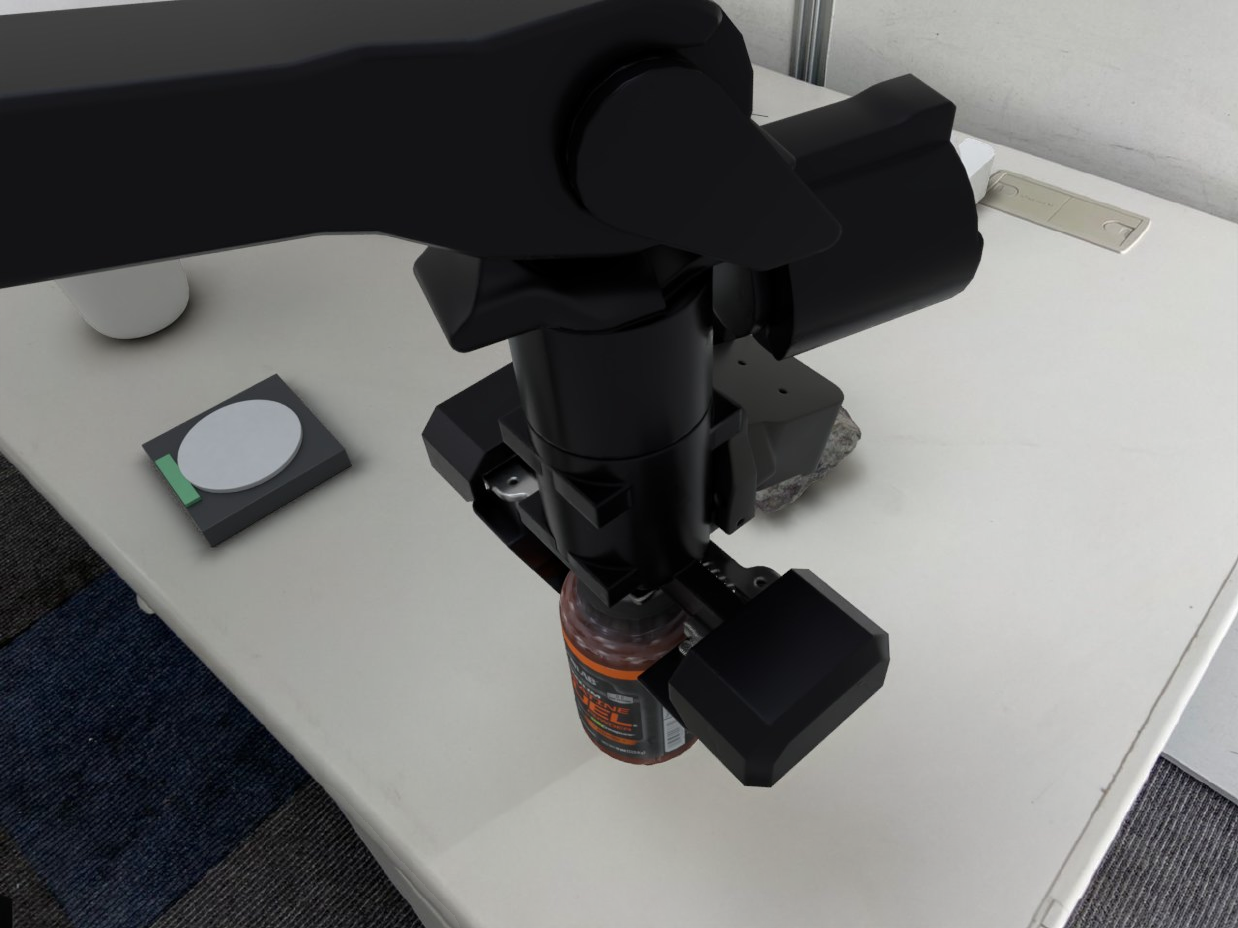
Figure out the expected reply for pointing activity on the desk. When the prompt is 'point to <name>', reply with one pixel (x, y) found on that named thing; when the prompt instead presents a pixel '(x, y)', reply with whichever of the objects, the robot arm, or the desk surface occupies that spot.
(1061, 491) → the desk surface
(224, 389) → the desk surface
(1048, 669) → the desk surface
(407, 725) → the desk surface
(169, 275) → the cup
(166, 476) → the scale
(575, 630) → the supplement bottle
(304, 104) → the robot arm
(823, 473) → the rock
